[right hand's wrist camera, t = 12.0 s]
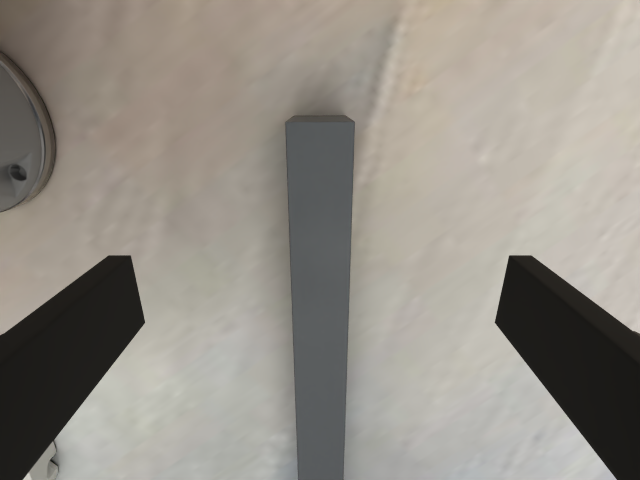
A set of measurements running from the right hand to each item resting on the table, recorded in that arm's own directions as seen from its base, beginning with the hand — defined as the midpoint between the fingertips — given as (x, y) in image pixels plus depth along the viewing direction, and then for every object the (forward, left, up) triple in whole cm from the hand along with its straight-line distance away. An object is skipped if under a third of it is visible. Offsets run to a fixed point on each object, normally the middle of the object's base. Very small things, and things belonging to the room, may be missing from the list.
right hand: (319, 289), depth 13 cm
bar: (+25, -5, -21) cm, 34 cm away
